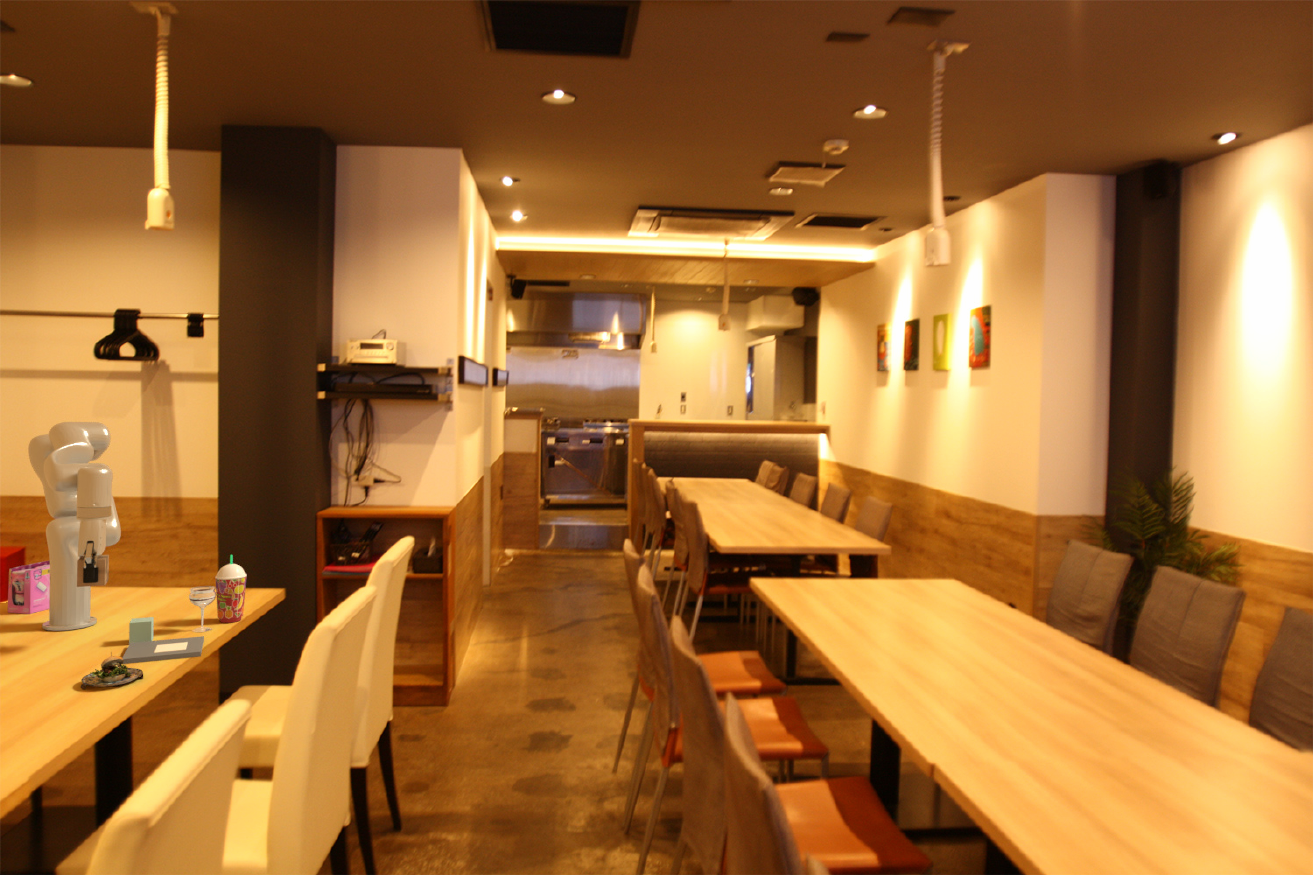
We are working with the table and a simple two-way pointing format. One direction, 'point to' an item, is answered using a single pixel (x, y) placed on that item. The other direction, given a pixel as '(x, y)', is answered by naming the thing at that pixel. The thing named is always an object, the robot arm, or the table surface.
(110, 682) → the burger
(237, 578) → the smoothie
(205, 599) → the wineglass
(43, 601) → the gum box
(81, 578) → the walnut block
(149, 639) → the teal block
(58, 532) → the robot arm
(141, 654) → the slate board
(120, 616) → the table surface
